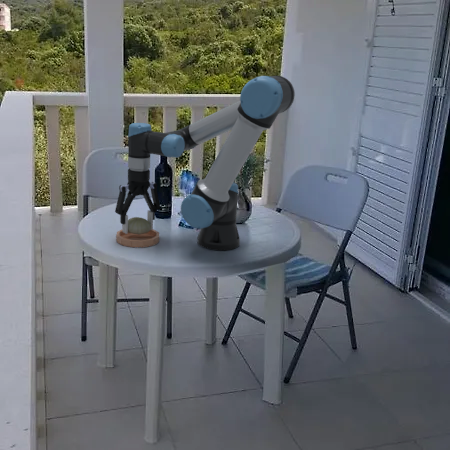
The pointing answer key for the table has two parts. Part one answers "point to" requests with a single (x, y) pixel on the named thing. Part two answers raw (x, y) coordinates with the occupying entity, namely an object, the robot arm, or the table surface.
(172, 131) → the robot arm
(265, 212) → the table surface
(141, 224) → the sea urchin shell
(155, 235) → the saucer
